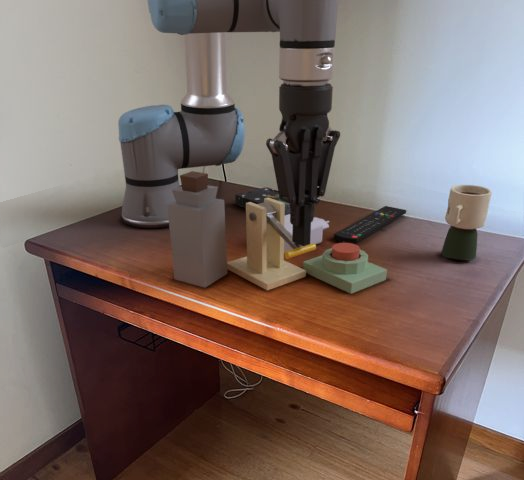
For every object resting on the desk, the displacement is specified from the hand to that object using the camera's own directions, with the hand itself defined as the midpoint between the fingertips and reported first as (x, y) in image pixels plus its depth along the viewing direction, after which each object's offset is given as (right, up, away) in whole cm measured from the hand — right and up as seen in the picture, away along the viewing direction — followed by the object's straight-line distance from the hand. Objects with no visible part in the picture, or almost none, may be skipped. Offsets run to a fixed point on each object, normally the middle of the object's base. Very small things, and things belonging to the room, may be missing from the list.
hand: (301, 242), depth 89 cm
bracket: (-6, -3, +11) cm, 13 cm away
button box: (+8, -4, +9) cm, 13 cm away
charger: (+2, +5, +24) cm, 25 cm away
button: (+8, -1, +7) cm, 11 cm away
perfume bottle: (-17, -4, +9) cm, 20 cm away
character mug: (+31, 0, +16) cm, 35 cm away
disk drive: (-4, +17, +43) cm, 47 cm away
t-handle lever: (-3, +2, +4) cm, 6 cm away
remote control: (+17, +9, +31) cm, 37 cm away
